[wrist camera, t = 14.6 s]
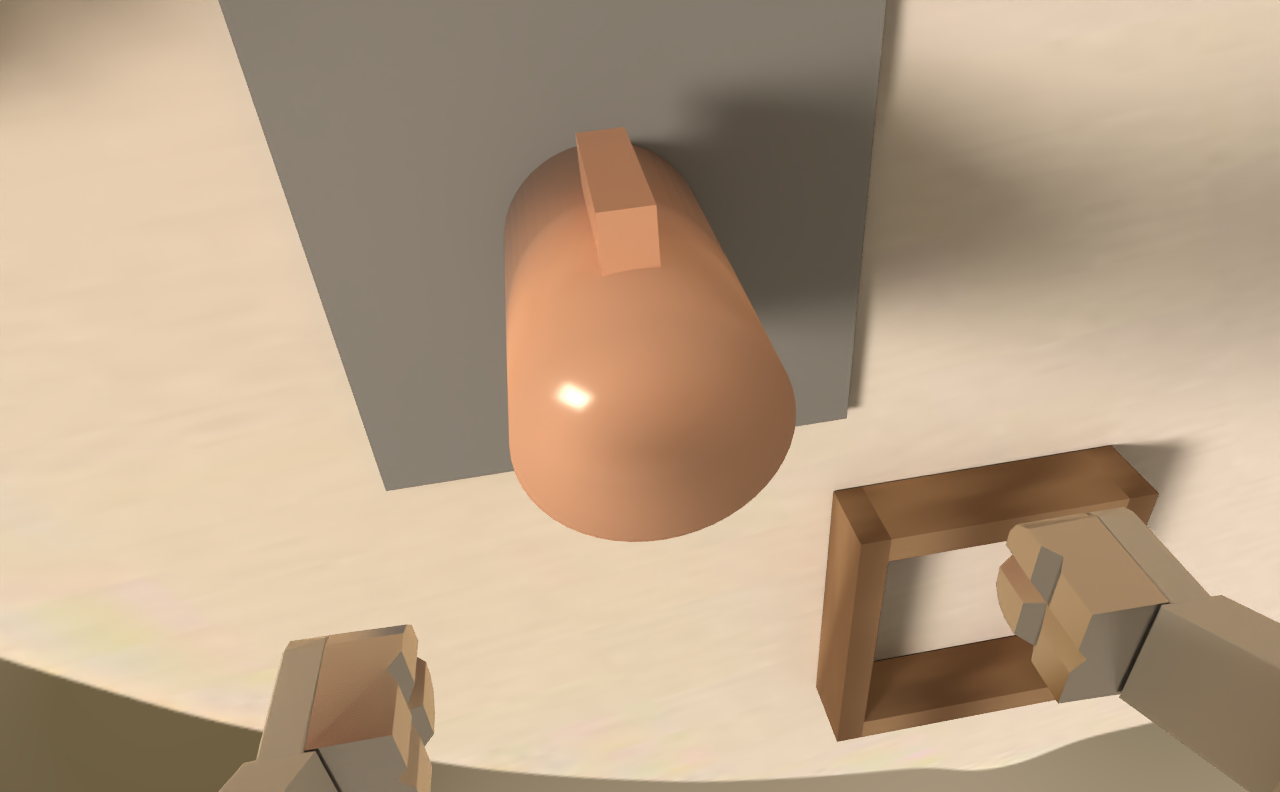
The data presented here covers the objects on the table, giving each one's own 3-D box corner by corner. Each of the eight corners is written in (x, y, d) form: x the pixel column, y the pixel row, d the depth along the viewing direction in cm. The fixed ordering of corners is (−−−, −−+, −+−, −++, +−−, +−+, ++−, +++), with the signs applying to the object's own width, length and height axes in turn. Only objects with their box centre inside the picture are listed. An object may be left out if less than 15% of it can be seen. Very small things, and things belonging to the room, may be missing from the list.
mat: (887, -116, 18) (896, -114, 17) (841, 408, 26) (846, 418, 25) (210, -47, 16) (203, -43, 16) (387, 479, 25) (386, 490, 24)
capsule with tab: (697, 81, 19) (804, 227, 12) (705, 312, 22) (791, 518, 16) (476, 108, 18) (469, 272, 12) (521, 338, 22) (533, 560, 16)
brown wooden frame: (1111, 445, 29) (1159, 493, 27) (1043, 644, 35) (1077, 695, 33) (833, 491, 28) (860, 544, 26) (816, 686, 34) (837, 741, 32)
